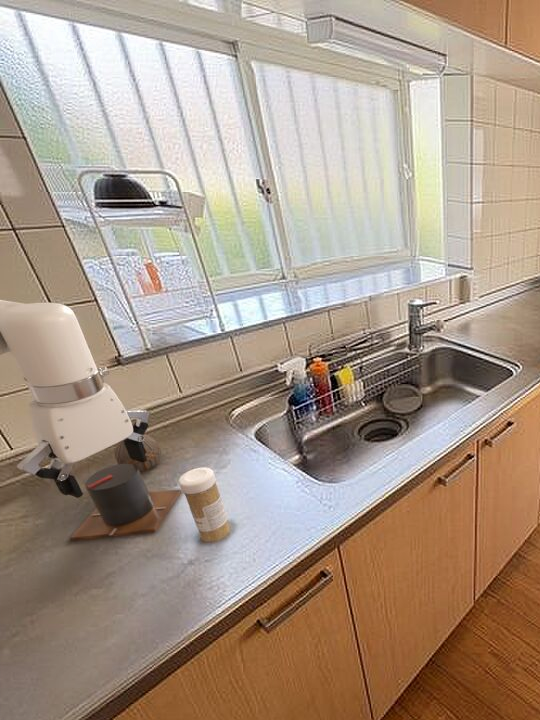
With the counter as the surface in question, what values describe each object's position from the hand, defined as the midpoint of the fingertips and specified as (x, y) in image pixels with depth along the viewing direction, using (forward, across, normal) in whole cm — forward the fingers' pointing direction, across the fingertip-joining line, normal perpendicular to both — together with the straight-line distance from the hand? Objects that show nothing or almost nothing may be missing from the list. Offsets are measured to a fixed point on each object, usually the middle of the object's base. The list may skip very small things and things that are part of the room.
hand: (108, 476), depth 71 cm
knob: (+8, 0, +1) cm, 8 cm away
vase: (+10, -11, -12) cm, 19 cm away
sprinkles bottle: (+9, -2, +18) cm, 20 cm away
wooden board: (+10, 0, +1) cm, 10 cm away
